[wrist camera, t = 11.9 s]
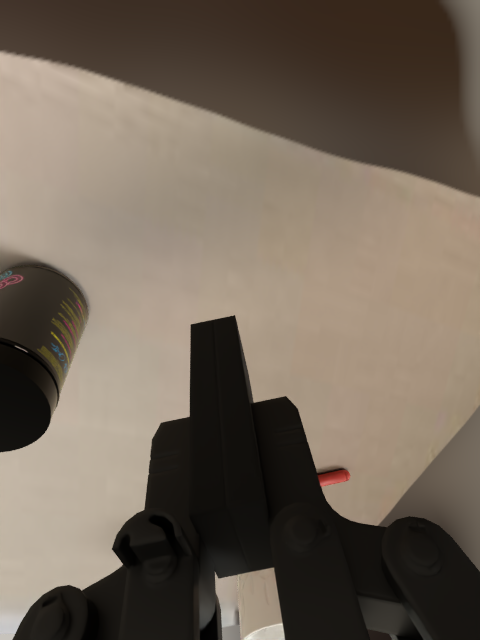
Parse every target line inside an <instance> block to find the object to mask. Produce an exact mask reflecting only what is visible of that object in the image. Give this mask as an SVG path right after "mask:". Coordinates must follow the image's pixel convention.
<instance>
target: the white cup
mask: <svg viewBox="0 0 480 640" xmlns="http://www.w3.org/2000/svg"><path fill="white" fill-rule="evenodd" d="M237 579H238V582H237V587H238V604H239V619H240V635H241V640H285V636H284V630H283V623H282V617H281V610H280V604H279V598H278V591H277V585H276V578H275V572H274V568H269V569H264V570H259V571H254V572H249V573H243V574H238V575H237Z"/></svg>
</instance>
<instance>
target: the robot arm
mask: <svg viewBox="0 0 480 640" xmlns="http://www.w3.org/2000/svg"><path fill="white" fill-rule="evenodd" d="M150 457H151V460H150V465H149V475H148V483H147V492H146V501H145V510H144V511H141V512H139V513H137V514H136V515H134V516H133V517H132V518H130V519H129V520H128V521H127V522H126V523H125V524H124V525H123V527H122V528H121V530H120V531H119V532H118V534H117V536H116V539H115V542H114V545H113V548H112V550H113V551H114V552H115V554H116V555H117V556H118V558H119V559H120V560H121V562H122V563H123V565H122V566H121V567H120V568H119V569H118V570H116V571H115V572H113V573H112V574H110V575H108V576H107V577H105V578H103V579H101V580H100V581H98V582H96V583H94V584H93V585H91V586H89V587H87V588H86V589H84V590H82V591H81V590H80V589H78V588H76V587H73V586H71V585H67V586H60V587H56V588H54V589H52V590H51V591H49V592H47V593H45V594H44V595H42V596H41V597H40V598H39V599H38V600H37V601H36V602H35V603H34V604H33V605H32V606H31V607H30V609H29V611H28V612H27V614H26V615H25V617H24V618H23V620H22V622H21V623H20V625H19V628H18V630H17V632H16V634H15V636H14V638H13V640H222V625H221V609H220V604H219V600H218V597H217V595H216V592H215V572H216V574H217V576H218V578H223V577H228V576H233V575H238V574H243V573H249V572H254V571H259V570H264V569H269V568H274V572H275V578H276V585H277V591H278V598H279V604H280V610H281V617H282V623H283V630H284V636H285V640H370V637H369V634H368V631H367V629H371V630H375V631H380V632H384V633H389V634H390V636H391V638H392V640H480V572H479V570H478V569H477V568H476V567H475V565H474V564H473V563H472V562H471V560H470V559H469V558H468V557H467V556H466V554H465V553H464V552H463V551H462V550H461V548H460V547H459V546H458V545H457V543H456V542H455V541H454V540H453V538H452V537H451V536H450V535H449V534H447V533H446V532H445V531H444V530H443V529H442V528H441V527H440V526H439V525H437V524H435V523H432V522H430V521H428V520H426V519H424V518H417V517H410V516H409V517H405V518H401V519H397V520H396V521H394V522H393V523H392V524H391V525H390V526H388V527H380V526H374V525H367V524H361V523H357V522H353V521H350V520H348V519H346V518H344V517H342V516H340V515H339V514H338V513H337V512H336V511H334V510H333V509H332V508H331V506H330V505H329V504H328V502H327V501H326V499H325V496H324V494H323V492H322V488H321V485H320V482H319V478H318V475H317V472H316V468H315V465H314V462H313V458H312V455H311V452H310V448H309V445H308V442H307V438H306V435H305V432H304V428H303V425H302V422H301V418H300V415H299V411H298V409H297V407H296V406H295V405H294V404H293V403H292V402H291V401H290V400H289V399H288V398H287V397H286V396H285V397H280V398H275V399H270V400H265V401H261V402H256V403H253V397H252V391H251V386H250V380H249V375H248V370H247V366H246V361H245V357H244V353H243V348H242V344H241V339H240V335H239V331H238V326H237V322H236V318H235V315H234V316H230V317H225V318H220V319H215V320H210V321H206V322H201V323H196V324H191V353H190V417H187V418H182V419H178V420H173V421H168V422H163V423H161V424H160V426H159V428H158V430H157V432H156V433H155V435H154V437H153V439H152V446H151V456H150Z"/></svg>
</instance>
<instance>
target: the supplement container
mask: <svg viewBox="0 0 480 640" xmlns="http://www.w3.org/2000/svg"><path fill="white" fill-rule="evenodd" d="M87 320H88V306H87V303H86V300H85V298H84V295H83V294H82V292H81V291H80V289H79V288H78V287H77V285H76V284H75V283H74V282H73V281H71V280H70V279H69V278H68V277H66V276H65V275H63V274H61V273H59V272H57V271H55V270H53V269H50V268H46V267H42V266H35V265H25V266H18V267H14V268H10V269H8V270H5V271H4V272H2V273H0V452H6V451H12V450H16V449H20V448H23V447H25V446H28V445H30V444H32V443H33V442H35V441H36V440H38V439H39V438H40V437H41V436H42V435H43V434H44V433H45V431H46V430H47V428H48V426H49V424H50V421H51V418H52V416H53V413H54V411H55V409H56V407H57V404H58V401H59V397H60V393H61V390H62V387H63V385H64V382H65V379H66V377H67V374H68V371H69V369H70V366H71V363H72V361H73V358H74V356H75V353H76V350H77V348H78V345H79V342H80V340H81V337H82V334H83V332H84V329H85V326H86V323H87Z"/></svg>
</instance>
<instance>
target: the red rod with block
mask: <svg viewBox="0 0 480 640" xmlns="http://www.w3.org/2000/svg"><path fill="white" fill-rule="evenodd" d="M318 478H319V482H320V485H321V486H326V485H331V484H335V483H340V482H345V481H348V480H349V478H350V473H349V472H348V471H347V470H339V471H335V472H330V473H326V474H321V475H318Z"/></svg>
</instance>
